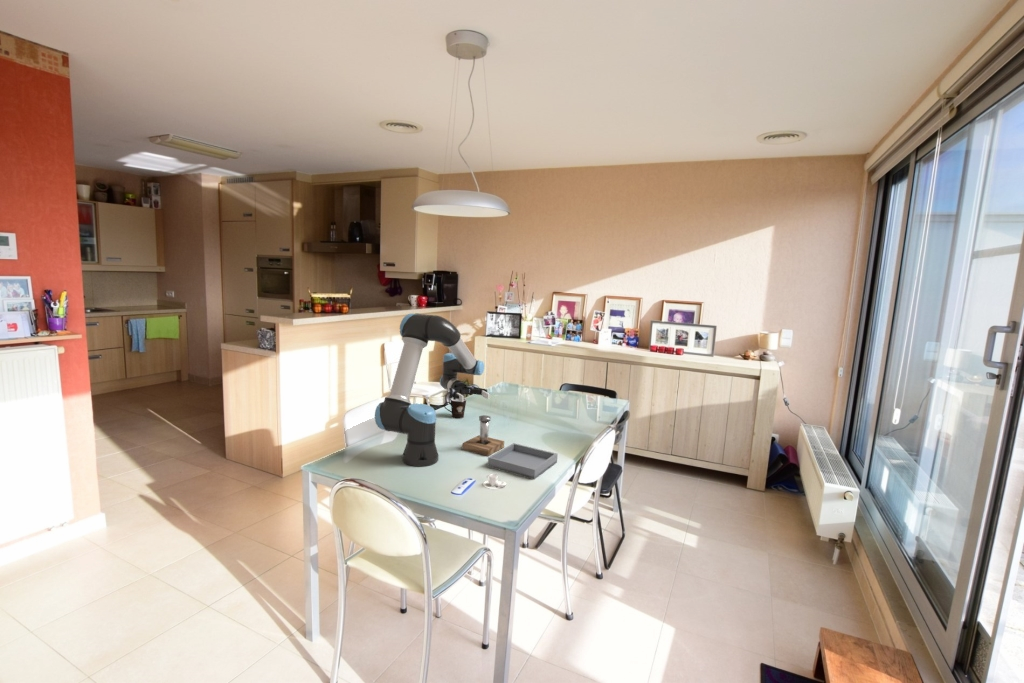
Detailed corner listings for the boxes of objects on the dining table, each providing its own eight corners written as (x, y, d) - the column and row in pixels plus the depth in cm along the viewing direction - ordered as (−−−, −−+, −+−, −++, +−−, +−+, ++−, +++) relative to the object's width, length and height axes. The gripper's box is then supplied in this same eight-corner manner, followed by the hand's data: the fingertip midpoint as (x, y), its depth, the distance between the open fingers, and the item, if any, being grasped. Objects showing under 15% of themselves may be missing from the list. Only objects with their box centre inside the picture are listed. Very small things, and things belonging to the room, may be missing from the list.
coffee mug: (467, 415, 282) (467, 398, 281) (464, 419, 274) (464, 402, 272) (446, 413, 283) (447, 396, 282) (443, 418, 275) (443, 400, 273)
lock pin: (485, 451, 228) (486, 419, 226) (475, 448, 231) (477, 417, 229) (491, 448, 233) (492, 416, 231) (481, 445, 235) (483, 414, 233)
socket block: (488, 456, 223) (488, 449, 222) (462, 449, 229) (462, 443, 229) (504, 447, 235) (504, 441, 234) (479, 441, 241) (479, 435, 241)
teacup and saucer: (509, 487, 193) (509, 477, 193) (493, 492, 188) (494, 482, 187) (493, 479, 200) (494, 469, 199) (478, 484, 194) (479, 474, 193)
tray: (534, 479, 201) (535, 469, 200) (487, 466, 211) (488, 457, 210) (557, 462, 220) (557, 453, 219) (513, 451, 230) (513, 443, 230)
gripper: (478, 392, 262) (498, 402, 244) (434, 396, 249) (451, 408, 231) (479, 378, 261) (499, 387, 243) (434, 381, 248) (451, 392, 230)
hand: (476, 397), depth 237 cm, fingers open, 13 cm apart
